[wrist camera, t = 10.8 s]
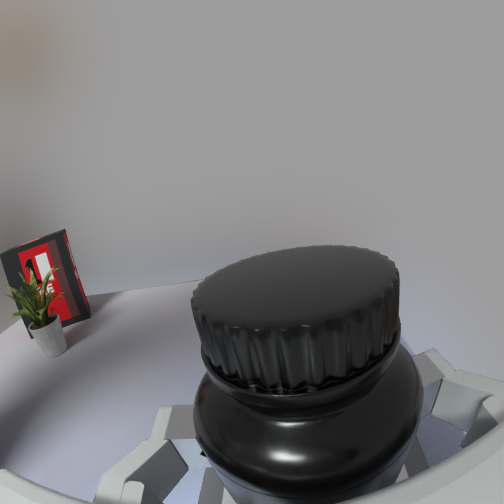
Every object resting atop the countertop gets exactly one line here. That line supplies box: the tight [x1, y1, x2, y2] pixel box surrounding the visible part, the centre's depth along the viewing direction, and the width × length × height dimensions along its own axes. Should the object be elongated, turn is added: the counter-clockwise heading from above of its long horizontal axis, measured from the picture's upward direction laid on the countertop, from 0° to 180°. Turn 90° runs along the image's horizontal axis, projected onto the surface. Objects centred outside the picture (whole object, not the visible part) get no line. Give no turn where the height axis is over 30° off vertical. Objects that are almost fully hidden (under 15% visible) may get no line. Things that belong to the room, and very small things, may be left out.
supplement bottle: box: [191, 245, 424, 504], centre depth 8 cm, size 7×7×12 cm
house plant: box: [5, 267, 68, 357], centre depth 39 cm, size 14×14×16 cm
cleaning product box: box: [0, 229, 91, 339], centre depth 51 cm, size 16×9×20 cm, turn 125°
